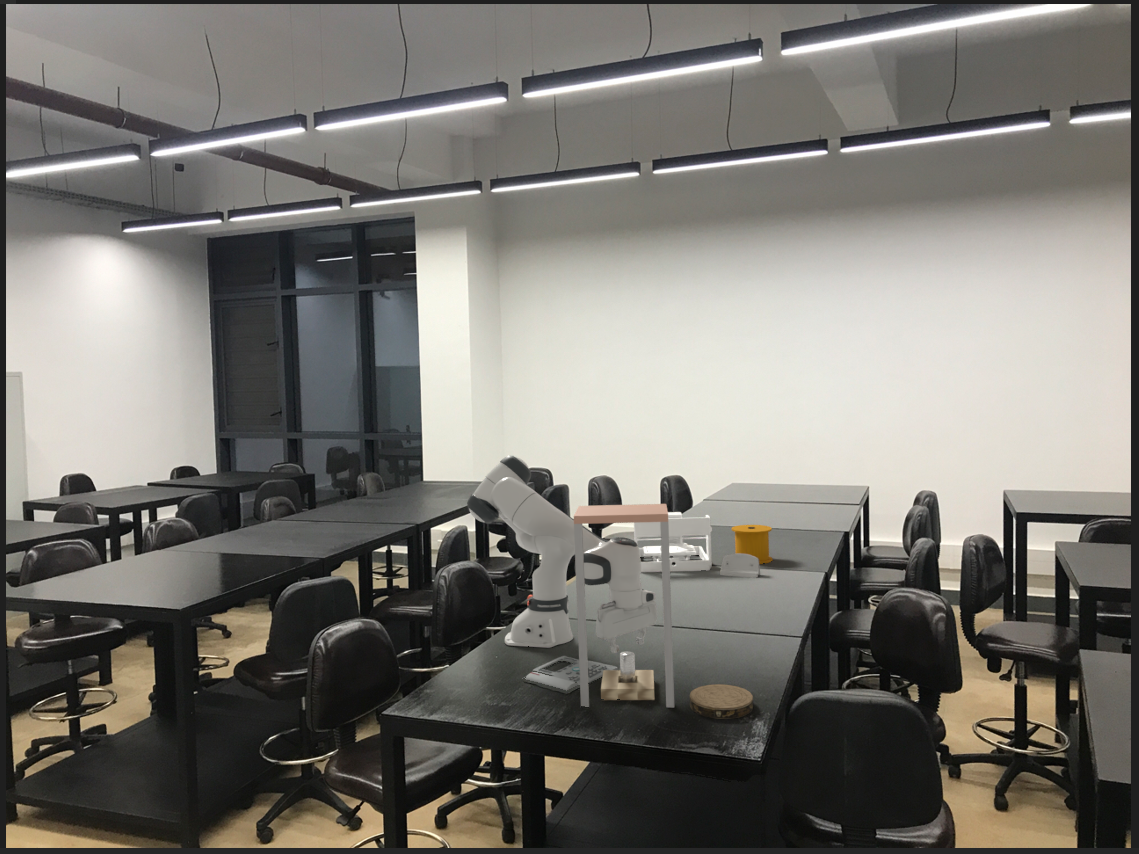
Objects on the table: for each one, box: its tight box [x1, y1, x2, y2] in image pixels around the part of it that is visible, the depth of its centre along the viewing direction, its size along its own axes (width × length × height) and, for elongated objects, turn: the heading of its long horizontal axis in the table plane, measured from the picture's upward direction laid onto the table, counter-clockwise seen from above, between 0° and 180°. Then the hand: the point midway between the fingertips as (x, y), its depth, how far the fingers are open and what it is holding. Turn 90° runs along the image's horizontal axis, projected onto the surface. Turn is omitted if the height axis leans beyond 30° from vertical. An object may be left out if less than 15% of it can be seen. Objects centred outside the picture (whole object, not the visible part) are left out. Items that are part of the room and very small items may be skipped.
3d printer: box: [633, 511, 713, 573], centre depth 372 cm, size 35×32×25 cm
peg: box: [619, 651, 636, 683], centre depth 222 cm, size 4×4×10 cm
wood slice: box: [689, 683, 754, 720], centre depth 209 cm, size 16×16×3 cm
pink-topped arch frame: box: [573, 503, 675, 708], centre depth 217 cm, size 24×17×50 cm
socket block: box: [600, 669, 655, 701], centre depth 222 cm, size 14×14×3 cm
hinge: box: [719, 553, 761, 578], centre depth 347 cm, size 17×5×10 cm, turn 64°
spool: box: [730, 524, 773, 565], centre depth 373 cm, size 18×18×15 cm
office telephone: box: [523, 655, 619, 691], centre depth 236 cm, size 23×3×20 cm
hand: (627, 648), depth 222 cm, fingers open, 8 cm apart
